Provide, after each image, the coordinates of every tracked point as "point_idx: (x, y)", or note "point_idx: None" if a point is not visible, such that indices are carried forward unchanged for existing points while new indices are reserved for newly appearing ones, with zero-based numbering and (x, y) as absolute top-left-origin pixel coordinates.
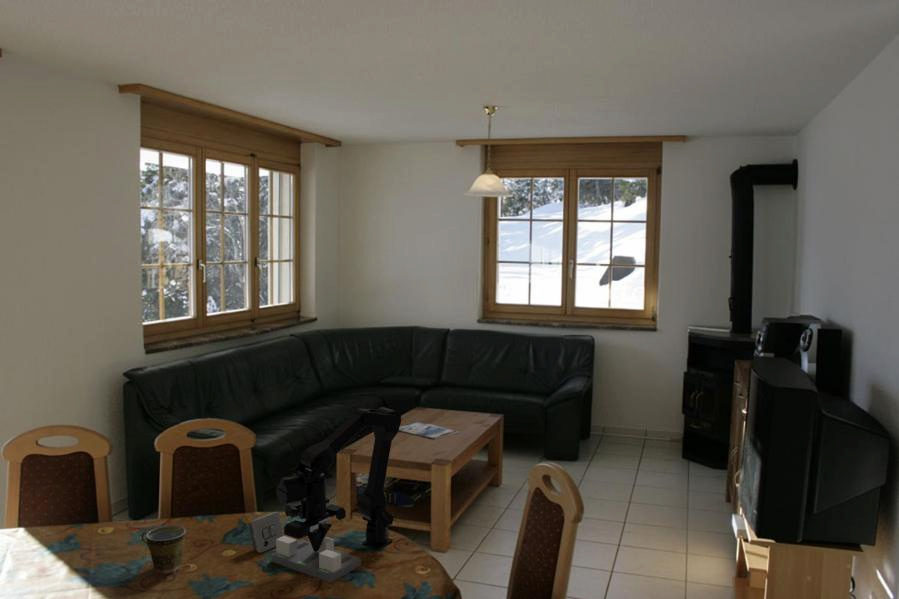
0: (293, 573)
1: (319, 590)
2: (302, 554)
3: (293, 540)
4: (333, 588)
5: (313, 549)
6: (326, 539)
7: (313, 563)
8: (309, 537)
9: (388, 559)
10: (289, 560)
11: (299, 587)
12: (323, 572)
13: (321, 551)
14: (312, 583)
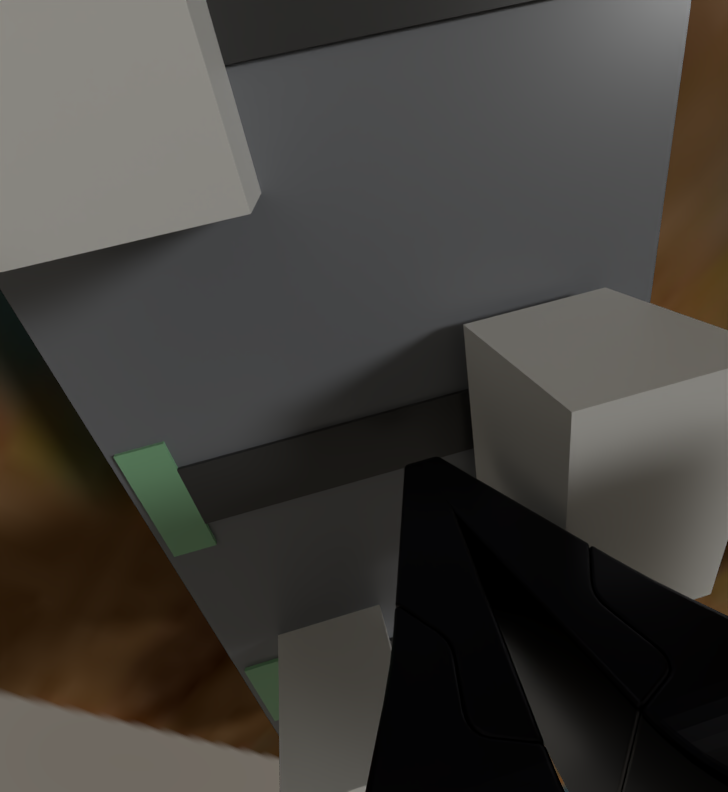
0: (78, 449)
1: (163, 722)
2: (308, 284)
3: (125, 166)
4: (253, 727)
5: (403, 485)
6: (653, 564)
7: (281, 555)
8: (395, 710)
9: (710, 598)
10: (40, 338)
11: (40, 658)
12: (259, 701)
13: (485, 465)
14: (164, 648)
